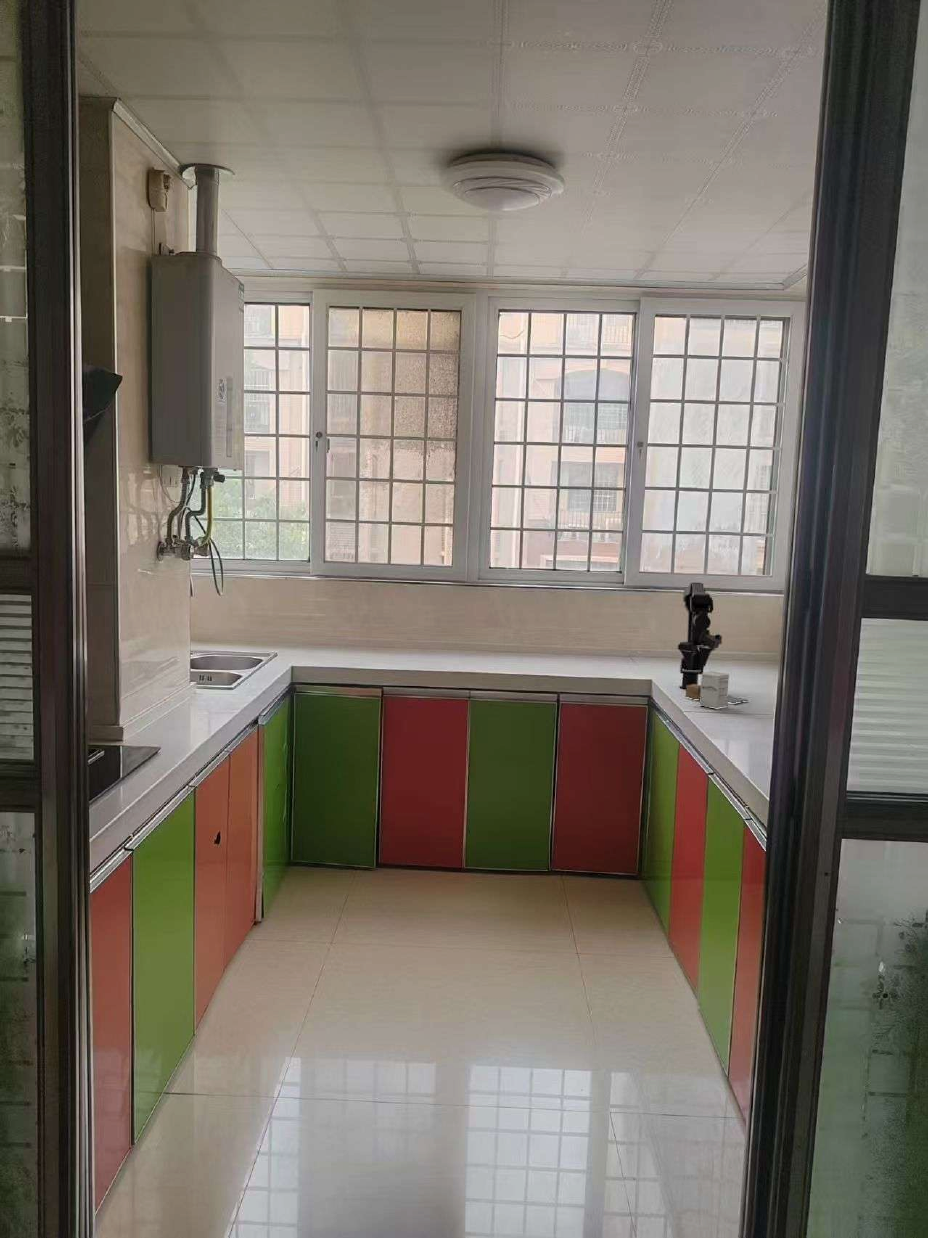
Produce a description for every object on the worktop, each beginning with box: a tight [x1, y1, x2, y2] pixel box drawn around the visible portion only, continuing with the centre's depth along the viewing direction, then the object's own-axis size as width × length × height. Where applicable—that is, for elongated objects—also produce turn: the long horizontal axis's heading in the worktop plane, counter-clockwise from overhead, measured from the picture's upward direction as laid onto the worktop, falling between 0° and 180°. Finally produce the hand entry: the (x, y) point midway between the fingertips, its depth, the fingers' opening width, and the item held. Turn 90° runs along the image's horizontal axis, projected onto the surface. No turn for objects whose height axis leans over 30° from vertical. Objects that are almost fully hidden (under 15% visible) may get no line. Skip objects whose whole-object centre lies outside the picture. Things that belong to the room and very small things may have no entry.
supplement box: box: [699, 670, 730, 708], centre depth 354 cm, size 7×7×13 cm
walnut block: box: [685, 684, 701, 700], centre depth 369 cm, size 5×5×5 cm
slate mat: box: [727, 695, 749, 703], centre depth 366 cm, size 10×9×1 cm
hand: (696, 667), depth 368 cm, fingers open, 9 cm apart
